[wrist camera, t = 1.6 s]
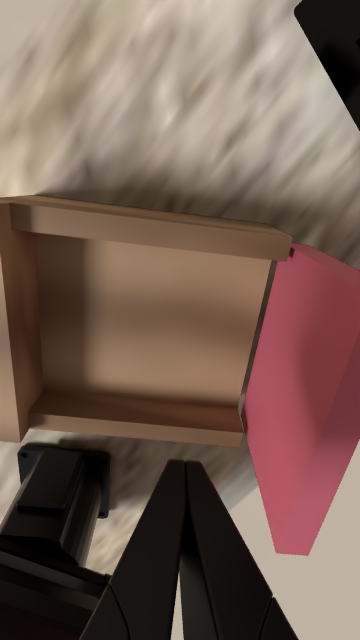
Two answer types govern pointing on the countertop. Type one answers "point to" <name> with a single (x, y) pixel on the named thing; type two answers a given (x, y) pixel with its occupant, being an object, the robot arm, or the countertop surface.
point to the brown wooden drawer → (127, 319)
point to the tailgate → (305, 393)
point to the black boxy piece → (336, 44)
